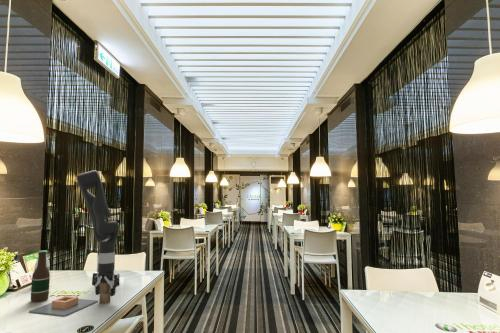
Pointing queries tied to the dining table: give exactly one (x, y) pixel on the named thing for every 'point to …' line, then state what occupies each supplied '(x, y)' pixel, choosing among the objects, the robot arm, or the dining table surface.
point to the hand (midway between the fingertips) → (105, 295)
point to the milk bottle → (46, 262)
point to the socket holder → (63, 306)
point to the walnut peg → (104, 293)
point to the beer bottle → (40, 280)
